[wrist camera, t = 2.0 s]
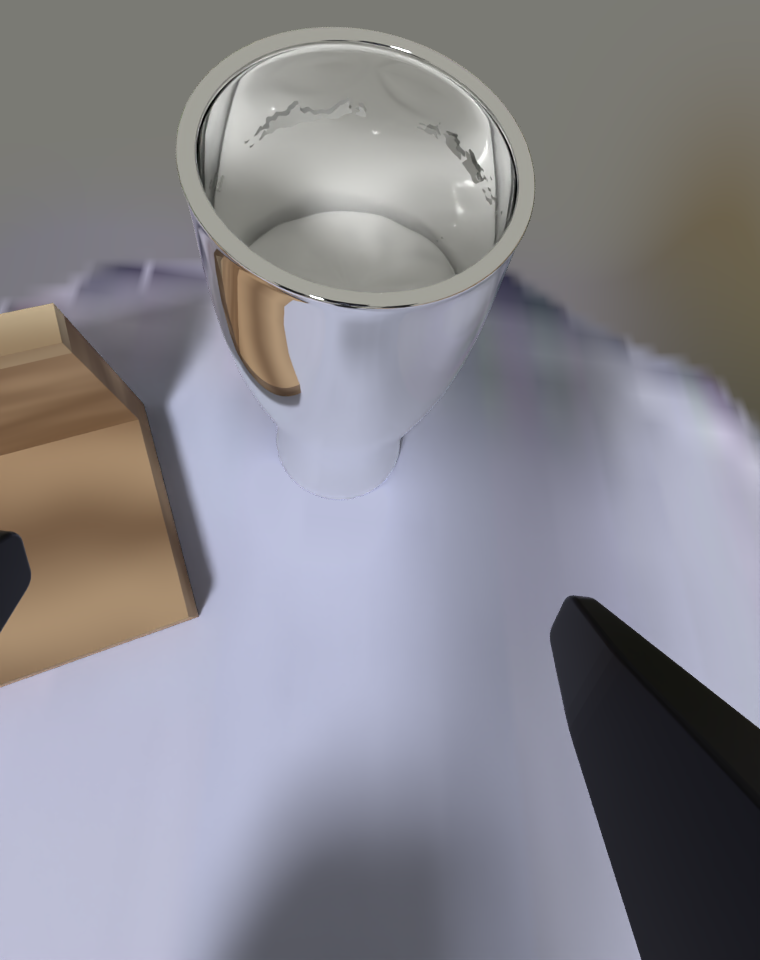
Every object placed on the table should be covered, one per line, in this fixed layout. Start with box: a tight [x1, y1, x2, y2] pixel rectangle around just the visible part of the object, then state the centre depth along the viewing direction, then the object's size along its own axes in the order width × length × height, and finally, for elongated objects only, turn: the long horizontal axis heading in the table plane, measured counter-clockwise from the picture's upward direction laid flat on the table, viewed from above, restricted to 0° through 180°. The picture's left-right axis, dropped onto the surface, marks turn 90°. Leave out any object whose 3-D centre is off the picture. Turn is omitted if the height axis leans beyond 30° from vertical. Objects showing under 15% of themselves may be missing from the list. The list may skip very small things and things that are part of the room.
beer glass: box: [176, 27, 535, 500], centre depth 15 cm, size 7×7×15 cm
